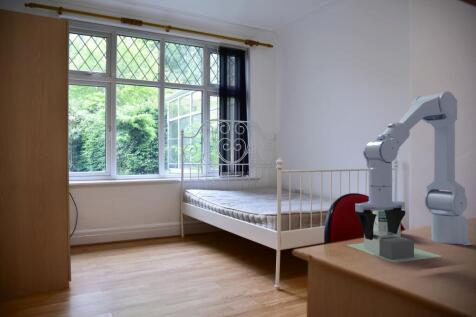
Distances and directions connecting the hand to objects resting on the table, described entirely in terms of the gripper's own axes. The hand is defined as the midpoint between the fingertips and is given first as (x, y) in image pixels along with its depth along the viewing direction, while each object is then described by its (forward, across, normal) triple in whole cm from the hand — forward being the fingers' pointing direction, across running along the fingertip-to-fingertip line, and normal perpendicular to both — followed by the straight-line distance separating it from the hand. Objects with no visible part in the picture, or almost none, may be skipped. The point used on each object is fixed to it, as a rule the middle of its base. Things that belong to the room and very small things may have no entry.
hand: (380, 237), depth 92 cm
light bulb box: (+5, -16, -16) cm, 23 cm away
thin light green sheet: (+4, -3, 0) cm, 5 cm away
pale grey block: (+3, 0, 0) cm, 3 cm away
